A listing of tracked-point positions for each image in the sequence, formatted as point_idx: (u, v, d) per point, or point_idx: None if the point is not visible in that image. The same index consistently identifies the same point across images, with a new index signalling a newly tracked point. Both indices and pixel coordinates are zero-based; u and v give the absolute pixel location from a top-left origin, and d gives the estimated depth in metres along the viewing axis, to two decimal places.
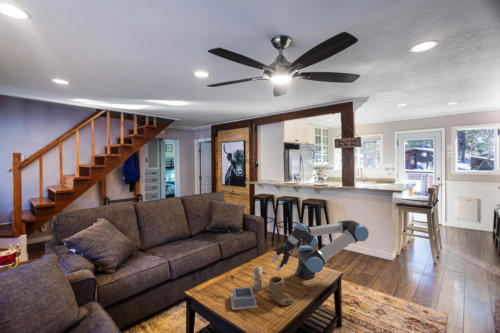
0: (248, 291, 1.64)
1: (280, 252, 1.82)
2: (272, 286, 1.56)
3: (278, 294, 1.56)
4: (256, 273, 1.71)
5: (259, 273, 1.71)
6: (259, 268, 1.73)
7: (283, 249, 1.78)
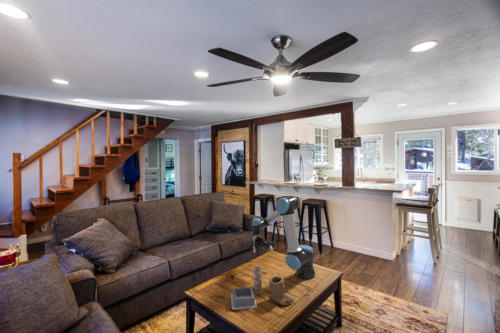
0: (248, 291, 1.64)
1: (267, 245, 1.93)
2: (272, 286, 1.56)
3: (278, 294, 1.56)
4: (256, 273, 1.71)
5: (259, 273, 1.71)
6: (259, 268, 1.73)
7: None
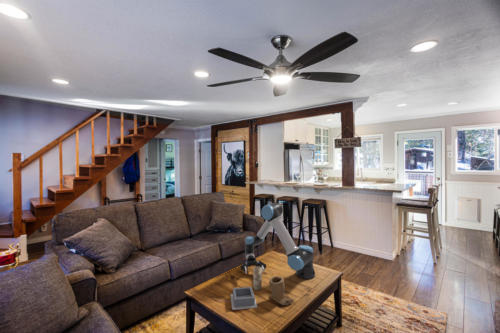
0: (248, 291, 1.64)
1: (259, 265, 1.92)
2: (272, 286, 1.56)
3: (278, 294, 1.56)
4: (256, 273, 1.71)
5: (259, 273, 1.71)
6: (259, 268, 1.73)
7: None
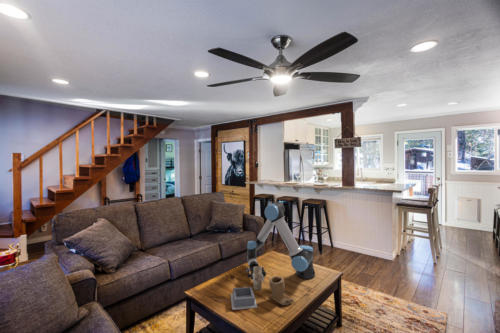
0: (248, 291, 1.64)
1: None
2: (272, 286, 1.56)
3: (278, 294, 1.56)
4: (256, 273, 1.71)
5: (259, 273, 1.71)
6: (259, 268, 1.73)
7: None
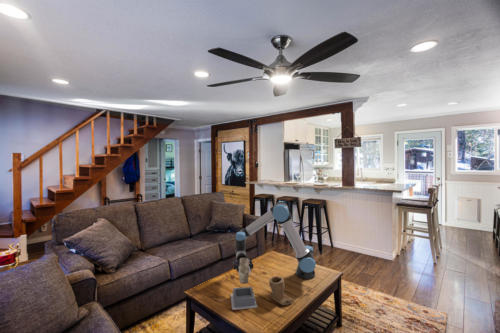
0: (248, 291, 1.64)
1: None
2: (272, 286, 1.56)
3: (278, 294, 1.56)
4: (242, 265, 1.58)
5: (245, 265, 1.58)
6: (246, 260, 1.60)
7: None
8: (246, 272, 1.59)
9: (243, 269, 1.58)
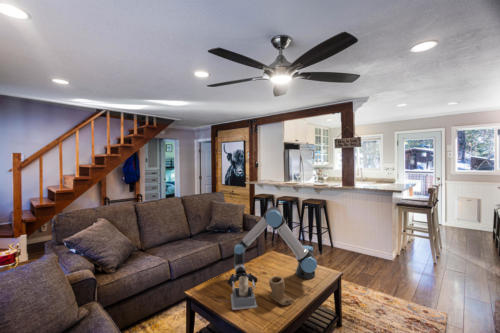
0: (248, 291, 1.64)
1: (249, 279, 1.65)
2: (272, 286, 1.56)
3: (278, 294, 1.56)
4: (242, 284, 1.56)
5: (245, 284, 1.56)
6: (245, 278, 1.57)
7: None
8: (246, 291, 1.56)
9: (243, 288, 1.56)
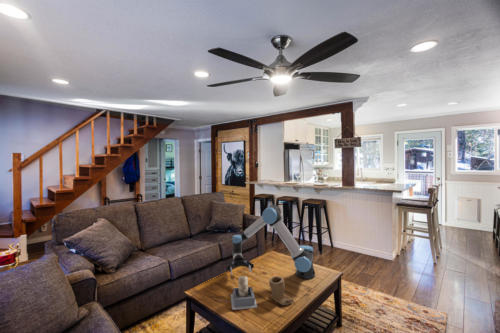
0: (248, 291, 1.64)
1: (246, 265, 1.79)
2: (272, 286, 1.56)
3: (278, 294, 1.56)
4: (241, 284, 1.56)
5: (245, 284, 1.56)
6: (245, 278, 1.58)
7: None
8: (245, 291, 1.56)
9: (242, 288, 1.56)
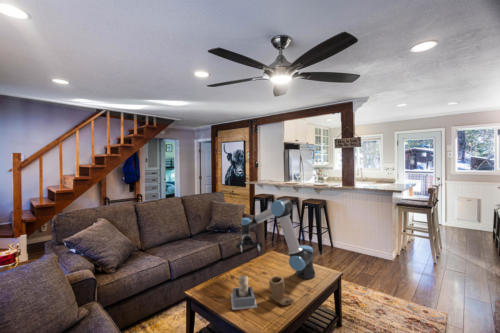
0: (248, 291, 1.64)
1: (255, 244, 1.90)
2: (272, 286, 1.56)
3: (278, 294, 1.56)
4: (242, 283, 1.56)
5: (245, 283, 1.56)
6: (245, 278, 1.58)
7: (250, 244, 1.93)
8: (246, 290, 1.57)
9: (243, 288, 1.56)
